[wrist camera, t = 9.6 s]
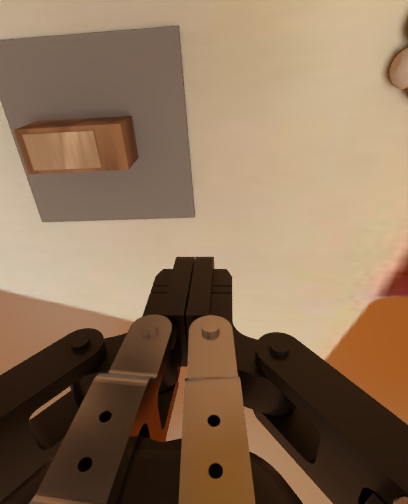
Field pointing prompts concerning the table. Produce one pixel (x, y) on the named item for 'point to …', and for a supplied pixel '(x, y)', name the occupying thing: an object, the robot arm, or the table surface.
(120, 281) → the table surface
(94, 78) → the slate mat
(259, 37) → the table surface
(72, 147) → the walnut block
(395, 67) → the multicoloured rounded cluster
